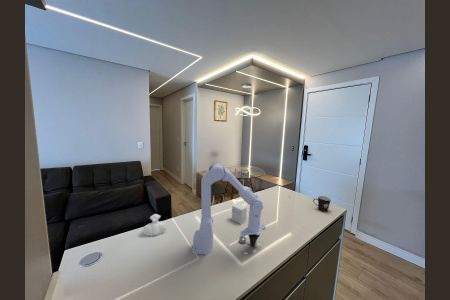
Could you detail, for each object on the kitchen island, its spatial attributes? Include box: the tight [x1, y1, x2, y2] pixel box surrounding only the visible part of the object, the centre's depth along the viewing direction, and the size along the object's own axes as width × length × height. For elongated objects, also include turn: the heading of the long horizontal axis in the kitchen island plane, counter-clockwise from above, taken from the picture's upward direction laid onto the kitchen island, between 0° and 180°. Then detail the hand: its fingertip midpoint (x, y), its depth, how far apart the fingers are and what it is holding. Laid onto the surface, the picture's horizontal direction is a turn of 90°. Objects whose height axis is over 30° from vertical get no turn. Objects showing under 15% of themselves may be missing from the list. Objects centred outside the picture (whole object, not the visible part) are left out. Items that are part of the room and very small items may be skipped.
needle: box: [238, 236, 258, 248], centre depth 88 cm, size 9×4×4 cm, turn 66°
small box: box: [231, 203, 248, 225], centre depth 109 cm, size 8×6×10 cm
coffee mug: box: [312, 195, 332, 213], centre depth 131 cm, size 12×9×10 cm
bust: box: [143, 213, 168, 237], centre depth 95 cm, size 12×8×11 cm
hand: (252, 245), depth 85 cm, fingers closed
